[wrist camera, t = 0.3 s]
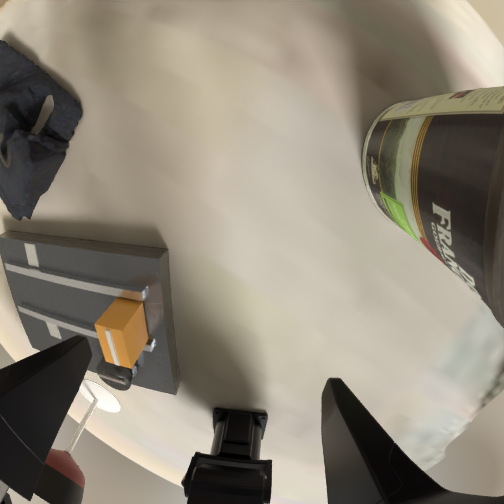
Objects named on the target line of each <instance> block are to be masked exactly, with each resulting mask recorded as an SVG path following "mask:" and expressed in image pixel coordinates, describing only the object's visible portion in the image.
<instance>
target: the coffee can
mask: <svg viewBox="0 0 504 504" xmlns="http://www.w3.org/2000/svg"><path fill="white" fill-rule="evenodd" d="M362 169H363V176H364V181H365V184H366V188H367V190H368V193H369V195H370V197H371V199H372V201H373V202H374V204H375V205H376V207H377V208H378V209H379V211H380V212H381V213H382V214H383V215H384V216H385V217H386V218H387V219H388V220H390V221H391V222H393V223H395V224H396V225H398V226H399V227H401V228H402V229H403V230H404V231H406V232H407V233H408V234H409V235H411V236H412V237H413V238H414V239H416V240H417V241H418V242H419V243H421V244H422V245H423V246H424V247H425V248H427V249H428V250H429V251H430V252H431V253H432V254H433V255H434V256H435V257H437V258H438V259H439V260H440V261H441V262H443V263H444V264H445V265H446V266H447V267H448V268H449V269H450V270H451V271H452V272H454V273H455V274H456V275H457V276H458V277H459V278H460V279H461V280H462V281H463V282H464V283H465V284H466V285H467V286H469V287H470V289H471V290H472V291H473V292H474V293H475V294H476V295H477V296H478V297H480V298H481V299H482V300H483V302H484V303H485V304H486V305H487V306H488V307H489V308H490V309H491V311H492V313H493V315H494V317H495V318H496V320H497V321H498V322H499V323H500V325H501V326H502V327H503V328H504V86H503V87H492V88H480V89H476V90H467V91H462V92H455V93H449V94H443V95H438V96H432V97H427V98H422V99H417V100H413V101H403V102H399V103H397V104H394V105H392V106H390V107H389V108H387V109H386V110H384V111H383V112H382V113H381V114H380V115H379V116H378V117H377V118H376V119H375V121H374V122H373V124H372V126H371V128H370V129H369V131H368V134H367V136H366V139H365V143H364V148H363V155H362Z"/></svg>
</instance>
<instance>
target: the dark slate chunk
mask: <svg viewBox="0 0 504 504" xmlns="http://www.w3.org/2000/svg"><path fill="white" fill-rule="evenodd" d="M48 95H52V96H53V100H54V109H53V112H52V113H51V114H50V116H49V118H48V120H47V121H46V123H45V126H44V127H43V128H42V130H41V132H40V133H39V134H38V135H37V136H35V134H32V132H30V131H31V129H32V127H33V126H34V125H35V124H36V121H37V119H38V117H39V114H40V111H41V109H42V106H43V104H44V102H45V100H46V97H47V96H48ZM81 117H82V114H81V107H80V104H79V103H78V102H77V101H76V100H74V99H72V98H71V96H70V94H69V93H68V92H67V91H66V90H64V89H62V88H61V86H60V85H58V84H57V83H56V82H55V81H54V80H53V79H52V78H51V77H50V76H49V74H47V73H45V71H44V70H42V69H40V68H39V67H38V66H35V65H34V63H33V61H30V60H28V59H27V58H26V56H24V55H23V54H20V53H19V52H18V51H16V50H14V49H13V48H11V47H9V46H8V44H7V43H6V42H5V41H1V40H0V197H1V199H2V200H3V202H4V204H5V205H6V207H7V209H8V211H9V212H10V213H11V214H12V216H13V218H15V219H18V220H21V219H22V216H25V217H27V218H28V219H29V220H30V219H31V216H32V213H33V210H34V209H35V206H36V204H37V202H38V200H39V198H40V196H41V195H42V194H44V193H45V192H46V191H47V190H48V189H49V187H50V185H51V183H52V182H53V180H54V178H55V175H56V173H57V172H58V170H59V168H60V166H61V164H62V162H63V161H64V159H65V156H66V152H65V150H66V149H67V148H68V147H69V146H68V144H67V142H68V141H69V140H70V139H71V138H72V136H73V135H74V128H75V127H76V126H77V124H78V120H80V119H81ZM63 138H64V139H65V140H64V139H63ZM63 141H64V142H63Z"/></svg>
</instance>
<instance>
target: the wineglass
mask: <svg viewBox="0 0 504 504" xmlns="http://www.w3.org/2000/svg"><path fill="white" fill-rule="evenodd" d="M79 390H80V392H81V393H82V394H83V396H84V397H85V398H86V399H87V400H88V401H90V402H91V403H92V404H91V405H90V407H89V409H88V411H87V412H86V414H85V416H84V418H83V419H82V421H81V423H80V425H79V427H78V428H77V430H76V432H75V434H74V436H73V438H72V439H71V441H70V443H69V445H68V447H67V449H66V451H60V450H55V449H50V452H49V454H48V456H47V459H46V461H45V464H44V466H43V469H42V471H41V474H40V477H39V479H38V482H37V485H36V487H35V490H34V493H35V494H36V495H37V496H39V497H40V498H42V499H44V500H45V501H47V502H48V503H50V504H81V502H82V498H83V491H84V485H85V479H84V475H83V473H82V471H81V470H80V468H79V466H78V465H77V464H76V462H75V461H74V460H73V458H72V457H71V452H72V450H73V448H74V446H75V444H76V442H77V440H78V438H79V436H80V434H81V433H82V431H83V429H84V427H85V425H86V423H87V422H88V420H89V418H90V416H91V414H92V412H93V411H94V409H95V407H96V406H97V407H98V408H100V409H102V410H105V411H108V412H114V413H115V412H119V411H120V404H119V402H118V400H117V399H116V398H115V397H114V396H113V395H112V394H111V393H110V392H109V391H107V390H106V389H105V388H103V387H102V386H100V385H98V384H96V383H95V382H93V381H89V380H85V379H83V381H82V383H81V386H80V388H79Z"/></svg>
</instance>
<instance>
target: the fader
mask: <svg viewBox="0 0 504 504" xmlns="http://www.w3.org/2000/svg"><path fill="white" fill-rule="evenodd" d="M95 328H96V331H97V335H98V338H99V341H100V345H101V348H102V351H103V354H104V357H105V360H106V362H109V363H113V364H115V365H118V366H119V365H120V366H123V367H127V368H130V369H132V368H133V366H134V364H135V362H136V360H137V359H138V357H139V355H140V353H141V352H142V350H143V348H144V346H145V344H146V343H147V341H148V339H149V337H148V332H147V326H146V320H145V313H144V306H143V302H140V301H134V300H129V299H124V298H119V297H117V298H116V299H115V301H114V302H113V303H112V304H111V305H110V306H109V307H108V309H107V310H106V311H105V312H104V313H103V314H102V316H101V317H100V318H99V319H98V320H97V322H96V323H95Z"/></svg>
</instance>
